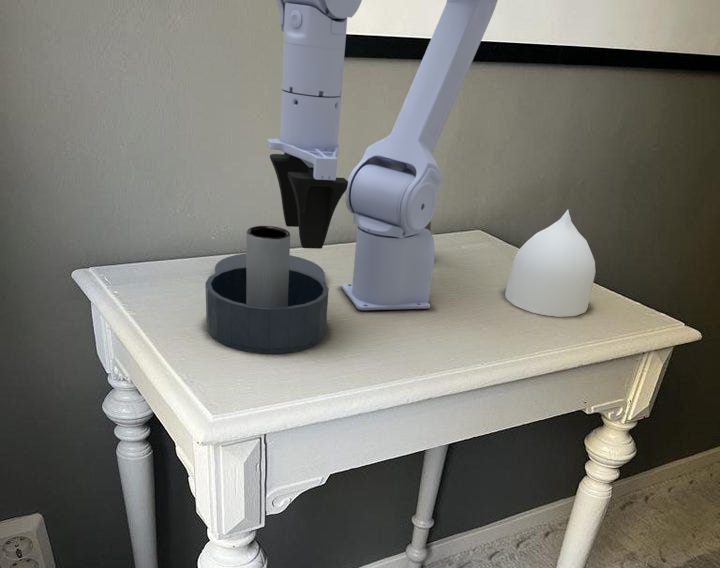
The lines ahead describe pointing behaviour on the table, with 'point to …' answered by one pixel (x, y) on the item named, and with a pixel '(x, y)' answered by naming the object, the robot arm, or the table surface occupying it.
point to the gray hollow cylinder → (267, 266)
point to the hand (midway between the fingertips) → (303, 236)
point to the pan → (266, 314)
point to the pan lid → (294, 263)
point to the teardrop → (553, 272)
